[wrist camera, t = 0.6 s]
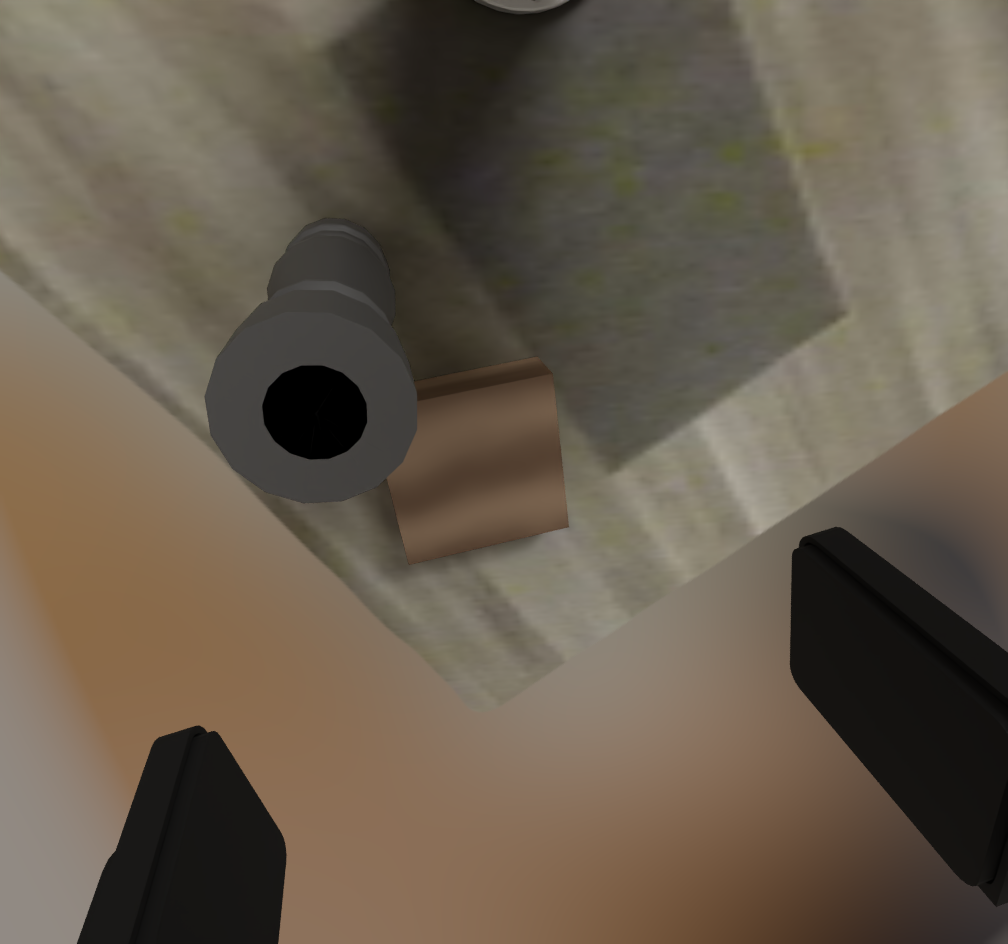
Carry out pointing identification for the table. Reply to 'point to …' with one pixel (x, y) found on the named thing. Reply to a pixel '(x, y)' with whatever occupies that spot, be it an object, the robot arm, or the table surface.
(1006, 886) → the robot arm
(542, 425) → the walnut plinth
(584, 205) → the table surface
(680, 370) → the table surface
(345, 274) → the candle holder
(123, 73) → the table surface
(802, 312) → the table surface
